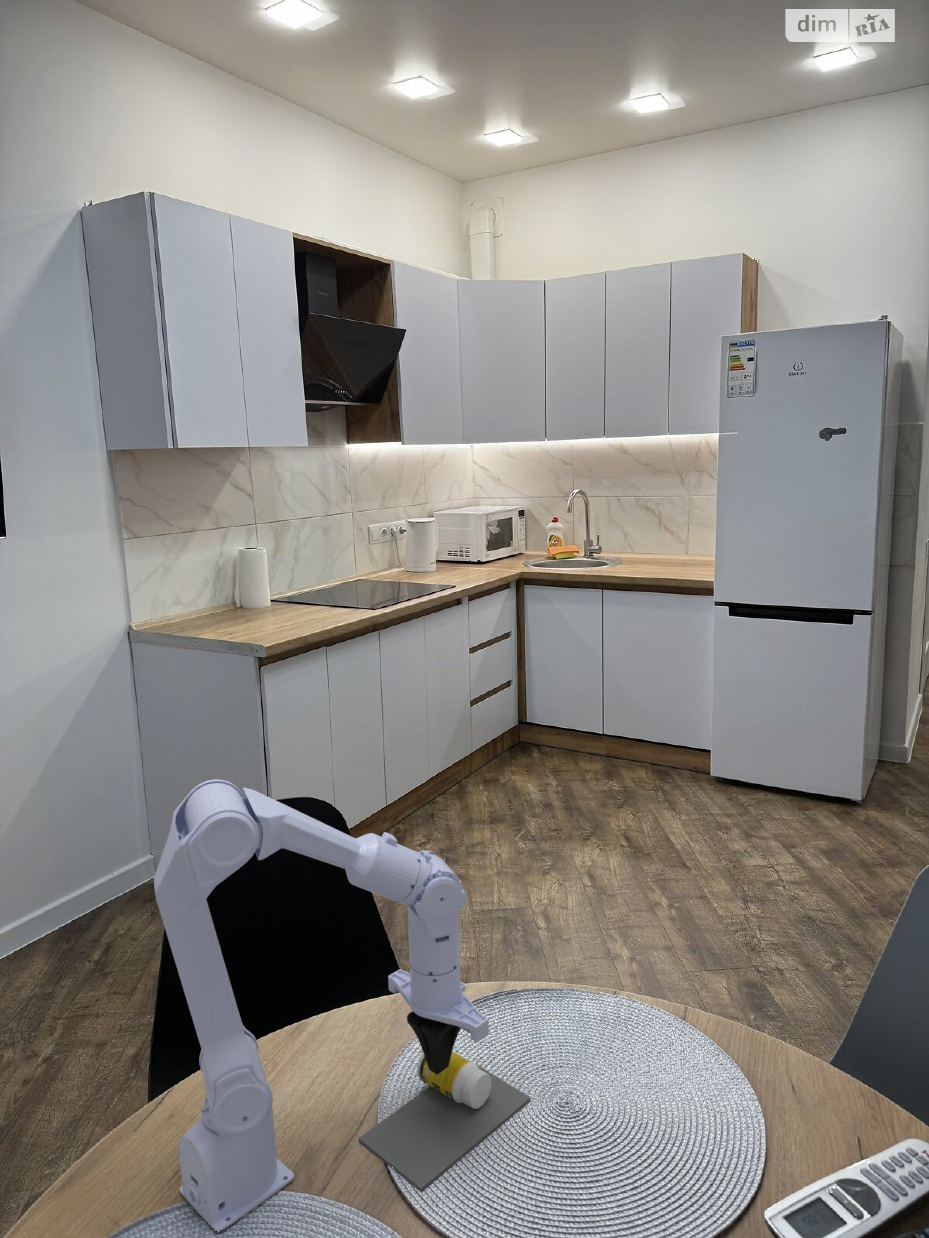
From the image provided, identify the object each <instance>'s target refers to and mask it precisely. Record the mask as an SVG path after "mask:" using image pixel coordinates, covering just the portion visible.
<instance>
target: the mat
mask: <svg viewBox="0 0 929 1238" xmlns="http://www.w3.org/2000/svg"><path fill="white" fill-rule="evenodd" d="M474 1063H475V1064H477V1063H476V1062H474ZM477 1066H478V1067H479V1069H480V1070H482V1071H483V1072H485V1073H487V1074H488V1075H489V1076H490V1077H491V1090H490V1093H489V1096H488V1098H487V1100H486V1101H485V1103H484V1104H483V1105H482V1106H481V1107H479V1108H477V1109H474V1108H472V1107H470V1106H468V1105H466V1104H465V1103H457V1102H455V1101H454V1100H452V1099H451V1098H449V1097H447V1096H446V1095H444V1094H442V1093H441V1092H439V1091H437V1090H436V1089H434V1088H433V1087H431V1086H429V1087H427V1088H425V1089H424V1090H423V1091H422V1092H420V1093H419V1094H417V1095H416V1096H415V1097H414V1098H412V1099H411V1100H409V1101H408V1102H407V1103H405V1104H404V1105H402V1106H401V1107H400V1108H398V1109H397V1110H396V1111H394V1112H393V1113H391V1114H389V1116H387V1117H386V1118H385V1119H383V1120H382V1121H380V1123H378V1124H376V1125H375V1126H373V1127H372V1128H371V1129H370V1130H368V1131H367V1132H365V1133H364V1134H363V1135H361V1136H360V1137H358V1142H359V1143H360V1144H361V1145H362V1146H363V1147H365V1148H366V1149H367V1150H369V1151H370V1152H372V1154H374V1155H375V1156H376V1157H377V1158H378V1159H380V1160H381V1161H382V1162H383V1163H385V1164H386V1165H387V1166H389V1165H390V1166H391V1167H393V1168H394V1169H395V1170H396V1171H397V1172H398V1173H397V1172H396V1171H395V1170H394V1169H393V1170H394V1171H395V1172H396V1173H397V1174H398V1175H400V1176H401V1177H402V1178H403V1179H405V1181H407V1182H409V1183H410V1184H411V1185H412V1186H413V1187H415V1188H416V1189H418V1191H420V1192H421V1193H422V1192H423V1191H424V1190H425V1189H427V1188H428V1187H429V1186H430V1185H431V1184H433V1183H434V1182H435V1181H436V1180H437V1179H439V1178H440V1177H441V1176H442V1175H443V1174H445V1173H446V1172H447V1171H449V1169H451V1168H452V1167H453V1166H454V1165H456V1164H457V1163H458V1162H459V1161H460V1160H462V1159H463V1158H464V1157H465V1156H466V1155H468V1154H469V1153H470V1152H471V1151H472V1150H474V1149H475V1148H476V1147H477V1146H479V1144H481V1143H482V1142H483V1141H484V1140H485V1139H487V1138H488V1137H489V1136H490V1135H491V1134H493V1133H494V1132H495V1131H496V1130H498V1129H499V1128H500V1127H501V1126H502V1125H503V1124H505V1123H506V1122H507V1121H508V1120H509V1119H510V1118H512V1117H513V1116H514V1115H515V1114H517V1113H518V1112H519V1111H521V1109H523V1108H524V1107H525V1106H526V1105H527V1104H528V1103H530V1102H531V1101H532V1100H531V1099H532V1098H531V1096H529V1095H527V1094H525V1093H524V1092H522V1091H521V1090H519V1089H517V1088H516V1087H514V1086H512V1085H511V1084H509V1083H508V1082H507V1081H504V1079H501V1078H500V1077H498V1076H496V1075H495V1074H493V1073H492V1072H490V1071H489V1070H488V1069H487V1070H486V1069H485V1068H484V1067H482V1066H480V1065H479V1064H477ZM390 1166H389V1167H390ZM391 1167H390V1168H391Z"/></svg>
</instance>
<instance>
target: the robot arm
mask: <svg viewBox="0 0 929 1238" xmlns="http://www.w3.org/2000/svg"><path fill="white" fill-rule="evenodd" d="M242 790H243V792H244V793H245V796H246V797H244V794H243V793H242V791H241V790H240V789H239V788H238V786H236V785H235V784H234V783H232V782H230V781H227V780H225V779H217V778H216V779H210V780H206V781H203V782H201V783H199V784H198V785H196V786H194V787H193V789H191V790H190V792H188V793H187V795H186V796H185V797H184V798H183V800H182V801H181V802H180V804H179V805H177V807H176V808H175V810H174V811H173V815H172V819H171V825H170V831H169V833H168V836H167V840H166V842H165V845H164V848H163V851H162V854H161V857H160V859H159V862H158V866H157V869H156V871H155V875H154V879H153V883H154V884H153V887H154V892H155V893H154V894H155V899H156V904H157V906H158V909H159V913H160V916H161V920H162V924H163V926H164V930H165V933H166V936H167V940H168V943H169V947H170V950H171V953H172V956H173V959H174V962H175V966H176V968H177V972H178V976H179V979H180V982H181V986H182V989H183V993H184V995H185V998H186V999H185V1000H186V1002H187V1005H188V1009H189V1012H190V1016H191V1018H192V1022H193V1025H194V1028H195V1032H196V1037H197V1039H198V1042H199V1045H200V1048H201V1050H200V1054H199V1060H198V1061H199V1066H200V1067H199V1068H200V1071H201V1073H202V1077H203V1081H204V1082H203V1083H204V1087H205V1091H206V1092H205V1093H206V1096H205V1098H204V1102H203V1105H202V1106H201V1115H200V1117H199V1118H198V1120H196V1122H195V1124H193V1126H192V1127H191V1128H189V1129H188V1131H186V1132H185V1133H184V1134H183V1135H182V1136H180V1138H179V1140H178V1154H179V1155H178V1156H179V1165H180V1173H181V1174H180V1177H181V1185H180V1187H179V1192H180V1194H181V1195H182V1196H183V1198H185V1200H186V1201H187V1202H188V1203H189V1204H190V1205H191V1206H192V1207H193V1208H194V1209H195V1211H196V1212H197V1213H198V1214H199V1215H200V1216H201V1218H203V1219H204V1220H205V1222H206V1223H207V1222H208V1223H207V1224H208V1225H209V1226H210V1225H211V1226H210V1228H212V1229H213V1228H214V1229H213V1230H214V1231H215V1232H216V1231H217V1232H216V1233H219V1232H218V1231H221V1230H223V1229H224V1228H226V1227H227V1228H228V1226H229V1225H230V1226H231V1225H233V1224H234V1223H235V1222H237V1221H238V1220H240V1219H241V1218H243V1217H244V1216H245V1215H247V1214H248V1213H249V1212H250V1211H253V1209H255V1208H257V1207H258V1206H259V1205H260V1204H262V1203H263V1202H264V1201H266V1200H268V1199H269V1198H270V1197H272V1196H273V1195H274V1194H275V1193H277V1192H278V1191H280V1190H282V1188H284V1187H286V1185H288V1184H290V1183H291V1182H292V1181H294V1179H295V1173H294V1172H293V1171H292V1170H291V1169H289V1168H288V1167H287V1165H286V1164H284V1163H283V1162H282V1160H280V1159H279V1158H278V1157H277V1148H276V1147H277V1146H276V1135H275V1123H274V1112H273V1111H274V1110H273V1109H274V1108H273V1098H274V1097H273V1096H274V1095H273V1091H272V1089H271V1086H270V1084H269V1083H268V1081H267V1077H266V1074H265V1071H264V1067H263V1062H262V1059H261V1056H260V1053H259V1045H258V1040H257V1039H256V1037H255V1035H254V1034H253V1033H252V1032H251V1031H249V1030H248V1029H246V1027H245V1026H244V1025H243V1022H242V1018H241V1015H240V1011H239V1009H238V1006H237V1005H238V1004H237V1002H236V998H235V994H234V991H233V988H232V984H231V982H230V981H231V980H230V976H229V973H228V969H227V967H226V964H225V960H224V957H223V954H222V950H221V949H222V948H221V945H220V943H219V939H218V935H217V932H216V931H217V930H216V929H215V925H214V921H213V918H212V915H211V911H210V907H209V903H208V901H207V898H208V897H209V895H210V894H211V893H213V890H214V889H215V888H216V886H218V885H219V884H220V883H222V882H223V881H225V880H226V879H227V878H228V877H230V876H231V875H232V874H234V873H235V872H236V871H238V870H239V869H240V868H241V867H243V866H244V865H245V864H247V862H248V861H249V860H250V859H251V858H252V857H253V856H254V854H255V855H256V858H257V860H258V861H262V860H264V859H266V858H268V857H269V856H271V855H273V854H274V853H276V852H277V851H279V850H281V849H285V850H287V851H290V852H294V853H297V854H300V855H303V856H306V857H309V858H311V859H314V860H318V861H321V862H324V863H327V864H329V865H333V866H335V867H338V868H341V869H343V870H344V869H345V873H346V877H347V880H348V882H349V883H350V884H351V885H352V886H355V887H357V888H360V889H362V890H365V891H368V892H370V893H373V894H375V895H378V896H380V897H383V898H385V899H388V900H391V901H393V902H395V903H399V904H401V905H407V917H408V918H407V919H408V924H407V929H408V931H407V932H408V933H407V934H408V951H409V952H408V954H409V955H408V956H409V972H408V971H405V970H403V969H401V968H400V969H397V970H396V971H394V972H392V973H391V974H389V975H388V976H387V980H388V991H390V992H391V993H393V994H396V993H400V995H401V996H402V998H403V999H404V1001H405V1002H406V1004H407V1005H408V1006H409V1009H410V1010H411V1012H409V1013H408V1014H407V1016H406V1022H407V1023H408V1024H409V1026H410V1027H411V1028H412V1031H413V1032H414V1034H415V1035H416V1038H417V1040H418V1042H419V1044H420V1047H421V1049H422V1053H424V1056H425V1059H426V1062H427V1065H428V1068H429V1070H430V1071H432V1072H433V1073H435V1074H436V1075H438V1074H439V1073H441V1072H442V1071H443V1070H445V1069H446V1068H448V1067H449V1063H450V1058H451V1054H452V1050H453V1051H454V1045H455V1043H456V1041H457V1038H458V1035H459V1033H460V1031H461V1029H462V1030H463V1031H465V1032H467V1033H468V1034H470V1039H471V1040H472V1041H473V1042H475V1043H479V1042H480V1041H482V1040H484V1039H485V1038H486V1037H487V1036H489V1034H490V1029H489V1027H490V1024H489V1018H488V1017H486V1016H485V1015H483V1014H482V1013H481V1012H480V1011H479V1010H478V1009H477V1008H476V1007H475V1005H474V1004H473V1003H472V1002H471V1000H470V999H469V998H468V997H467V995H465V991H466V983H464V982H462V981H461V953H460V952H461V950H460V946H461V944H460V924H459V915H460V913H461V911H462V910H463V908H464V907H465V905H466V903H467V902H466V901H467V895H468V894H467V892H466V891H465V890H464V885H463V882H462V881H461V879H460V878H459V876H458V875H457V874H456V873H455V872H454V871H453V870H452V869H451V867H449V866H448V864H447V863H446V862H445V861H444V860H443V859H442V858H441V857H439V856H438V855H436V854H435V853H434V852H433V851H432V850H423V849H422V850H420V851H416V850H413V849H411V848H409V847H406V846H404V845H401V844H399V843H398V840H397V837H395V836H394V835H393V834H391V833H388V832H386V831H384V832H383V834H382V835H381V836H380V835H379V834H375V833H373V832H371V833H370V832H369V833H365V834H363V835H361V836H359V837H353V836H351V835H349V834H347V833H345V832H343V831H340V830H338V829H336V828H334V827H332V826H330V825H328V824H326V823H324V822H322V821H320V820H318V819H316V818H314V817H311V816H309V815H307V814H306V813H303V812H300V811H299V810H298V809H295V808H292V807H291V806H288V805H287V804H285V803H282V802H280V801H278V800H276V799H274V798H271V797H269V796H267V795H265V794H263V793H261V792H259V791H257V790H254V789H251V788H247V787H244V786H243V787H242ZM230 1226H229V1227H230ZM227 1228H226V1229H227ZM224 1230H225V1229H224ZM224 1230H223V1231H224ZM221 1232H222V1231H221Z"/></svg>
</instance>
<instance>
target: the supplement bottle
mask: <svg viewBox="0 0 929 1238" xmlns="http://www.w3.org/2000/svg"><path fill="white" fill-rule="evenodd" d="M475 1063H476V1062H474V1061H472V1060H471V1059H469V1058H467V1057H466V1056H464V1055H461V1054H460V1053H458V1052H457V1051H455V1050H454V1049H453V1050H452V1054H451V1058H450V1063H449V1067H448V1068H446V1069H445V1070H443V1071H442V1072H441V1073H439V1074H438V1075H436V1074H435V1073H433V1072H432V1071H430V1070H429V1068H428V1065H427V1062H426V1059H425V1056H424V1053H423V1052H422V1053H421V1054H420V1057H419V1059H418V1063H417V1068H416V1070H417V1071H416V1072H417V1076H418V1078H419V1080H420V1081H421V1082H423V1083H425V1084H426V1085H427V1086H429V1087H430V1086H431V1087H433V1088H434V1089H436V1090H437V1091H439V1092H441V1093H442V1094H444V1095H446V1096H447V1097H449V1098H451V1099H452V1100H454V1101H455V1102H457V1103H465V1104H466V1105H468V1106H470V1107H472V1108H474V1109H477V1108H479V1107H481V1106H482V1105H483V1104H484V1103H485V1101H486V1100H487V1098H488V1096H489V1093H490V1090H491V1077H490V1076H489V1075H488V1074H487V1073H485V1072H483V1071H482V1070H480V1069H479V1067H478V1066H477V1065H478V1063H476V1064H475Z"/></svg>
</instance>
